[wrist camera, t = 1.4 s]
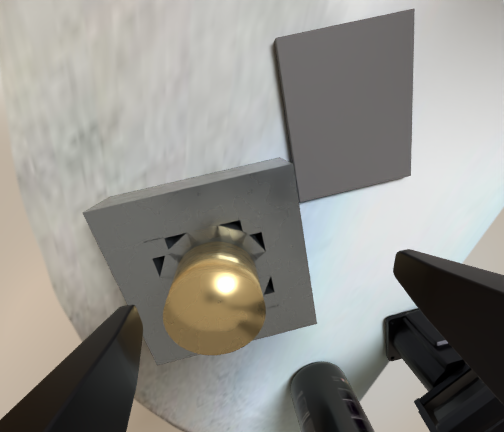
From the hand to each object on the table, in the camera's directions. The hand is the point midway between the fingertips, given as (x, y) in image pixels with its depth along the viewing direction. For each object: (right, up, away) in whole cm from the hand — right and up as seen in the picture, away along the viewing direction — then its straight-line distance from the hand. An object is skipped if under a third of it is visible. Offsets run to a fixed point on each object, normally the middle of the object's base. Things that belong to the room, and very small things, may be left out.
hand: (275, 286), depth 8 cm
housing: (-4, -1, +14) cm, 14 cm away
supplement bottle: (+7, -17, +21) cm, 28 cm away
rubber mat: (+7, +10, +11) cm, 17 cm away
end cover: (-4, -1, +13) cm, 14 cm away
